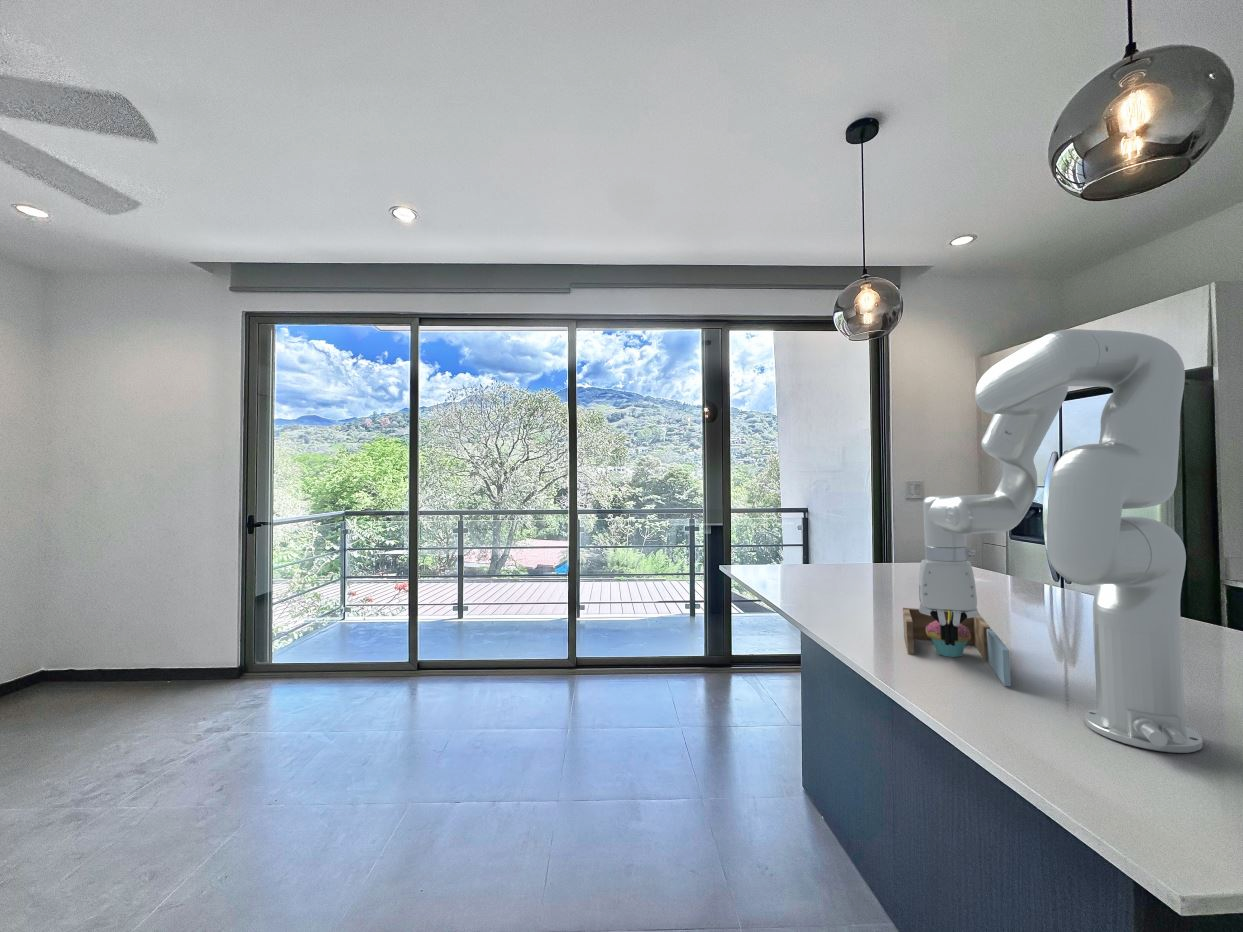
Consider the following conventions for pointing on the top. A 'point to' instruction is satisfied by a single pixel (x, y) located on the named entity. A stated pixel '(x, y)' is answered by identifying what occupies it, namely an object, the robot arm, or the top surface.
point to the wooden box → (918, 621)
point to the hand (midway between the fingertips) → (949, 643)
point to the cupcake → (939, 644)
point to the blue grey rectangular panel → (998, 657)
